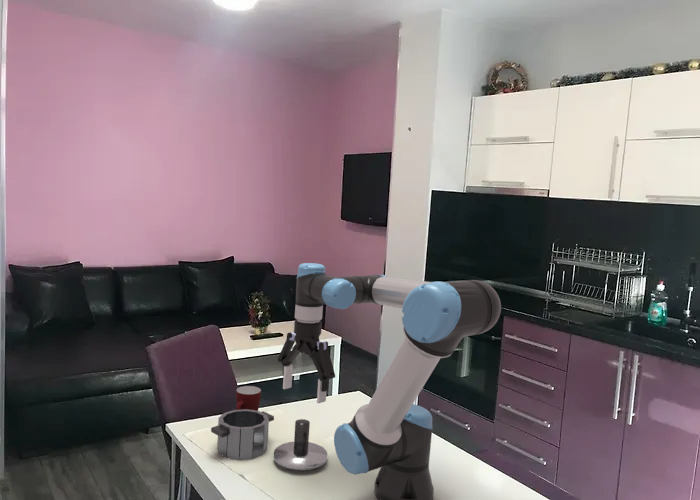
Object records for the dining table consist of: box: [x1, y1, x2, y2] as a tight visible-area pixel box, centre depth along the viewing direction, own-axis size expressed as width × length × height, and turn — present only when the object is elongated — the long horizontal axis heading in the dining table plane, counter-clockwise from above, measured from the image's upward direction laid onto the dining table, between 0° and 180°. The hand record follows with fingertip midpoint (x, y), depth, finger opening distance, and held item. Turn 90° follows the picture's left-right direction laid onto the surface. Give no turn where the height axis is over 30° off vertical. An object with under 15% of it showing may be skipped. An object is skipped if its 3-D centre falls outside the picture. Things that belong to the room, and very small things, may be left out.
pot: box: [210, 409, 275, 461], centre depth 166 cm, size 14×19×9 cm
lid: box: [273, 418, 328, 471], centre depth 160 cm, size 15×15×12 cm
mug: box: [235, 385, 262, 411], centre depth 186 cm, size 10×8×10 cm
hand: (303, 395), depth 159 cm, fingers open, 13 cm apart
